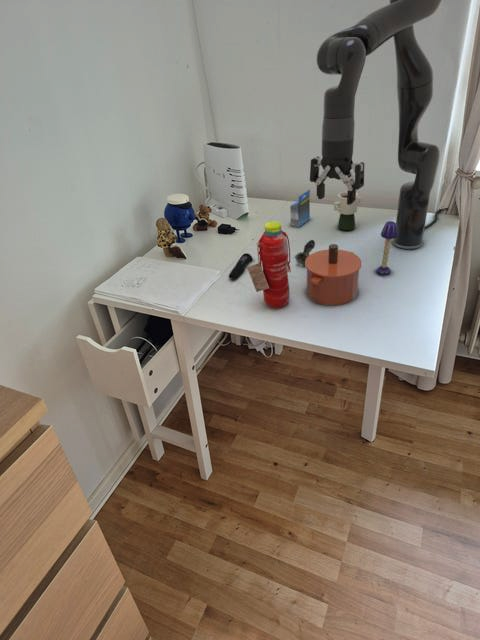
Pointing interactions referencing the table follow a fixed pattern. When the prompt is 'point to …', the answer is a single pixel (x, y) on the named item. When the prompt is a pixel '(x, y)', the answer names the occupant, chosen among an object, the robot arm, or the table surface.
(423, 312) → the table surface
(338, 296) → the pot
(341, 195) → the character mug
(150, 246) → the table surface
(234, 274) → the electric trimmer
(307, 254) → the eagle figurine
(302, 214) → the tape cartridge
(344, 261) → the pot lid
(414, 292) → the table surface
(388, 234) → the purple tan pedestal column
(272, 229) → the water bottle
